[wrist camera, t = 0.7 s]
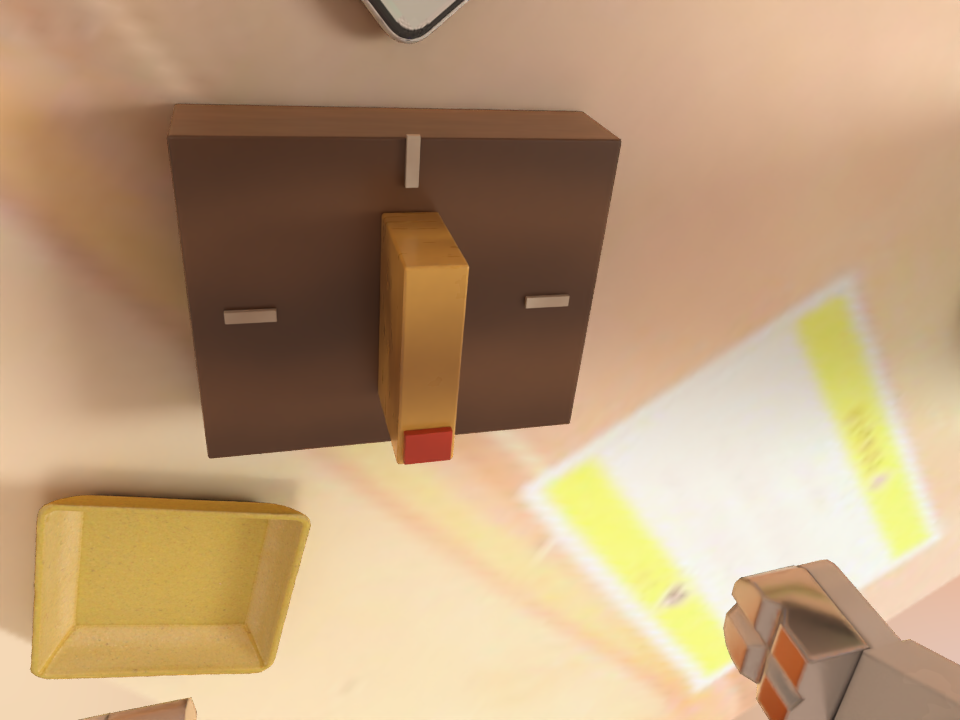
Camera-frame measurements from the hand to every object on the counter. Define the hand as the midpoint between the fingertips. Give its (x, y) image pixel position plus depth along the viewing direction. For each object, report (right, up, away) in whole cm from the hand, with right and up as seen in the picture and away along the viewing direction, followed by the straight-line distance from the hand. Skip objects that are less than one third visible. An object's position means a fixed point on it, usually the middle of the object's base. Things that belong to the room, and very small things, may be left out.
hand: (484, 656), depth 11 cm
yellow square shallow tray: (-12, -3, +18) cm, 22 cm away
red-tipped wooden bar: (-2, +6, +11) cm, 13 cm away
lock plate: (-3, +8, +14) cm, 16 cm away
